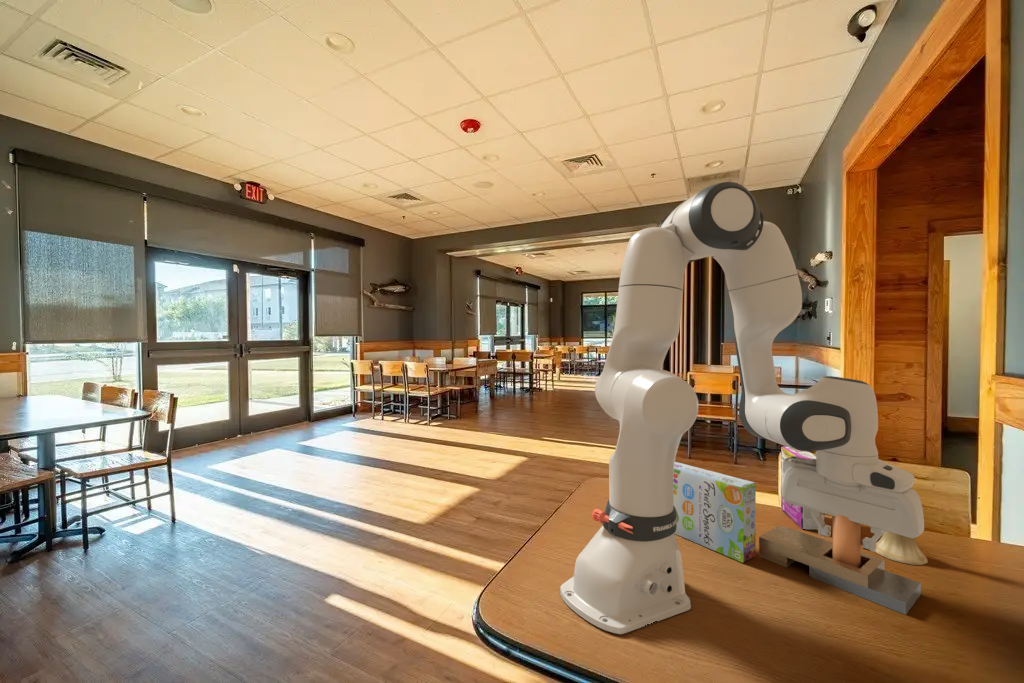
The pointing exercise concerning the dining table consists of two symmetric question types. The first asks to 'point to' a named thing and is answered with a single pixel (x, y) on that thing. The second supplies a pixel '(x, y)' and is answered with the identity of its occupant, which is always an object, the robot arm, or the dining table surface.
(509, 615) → the dining table surface
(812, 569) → the chain end lower
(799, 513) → the candy bar box
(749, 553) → the snack box
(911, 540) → the hand bell
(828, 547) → the chain end upper
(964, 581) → the dining table surface
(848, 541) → the pin
